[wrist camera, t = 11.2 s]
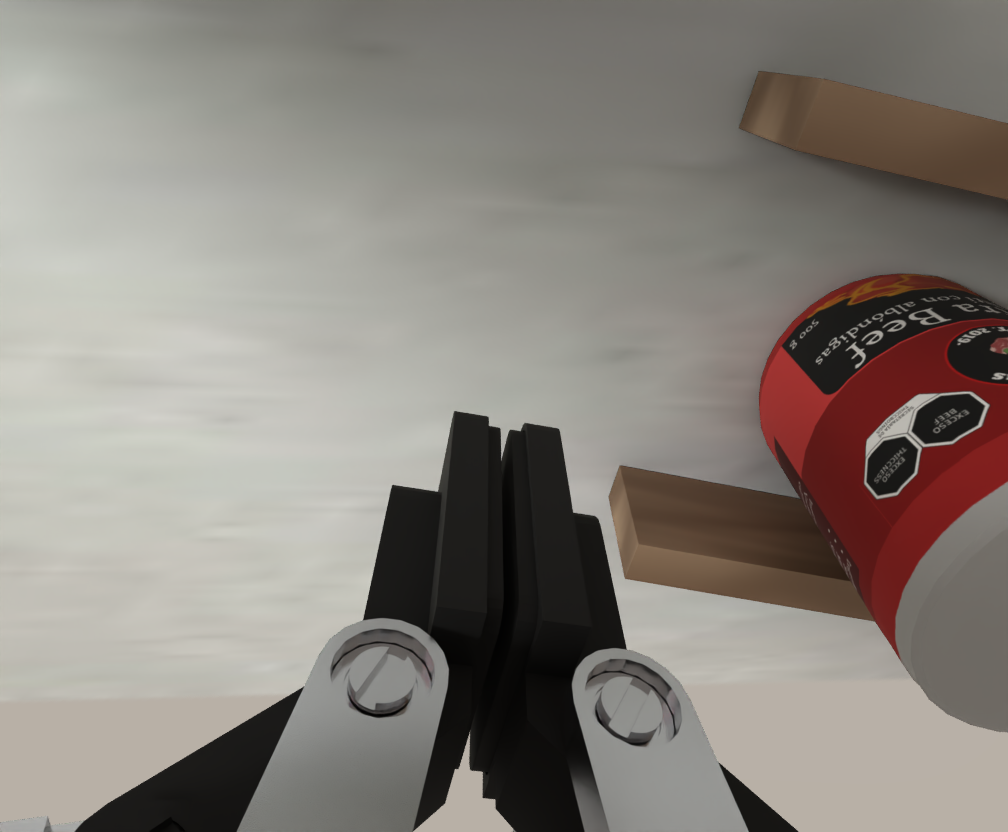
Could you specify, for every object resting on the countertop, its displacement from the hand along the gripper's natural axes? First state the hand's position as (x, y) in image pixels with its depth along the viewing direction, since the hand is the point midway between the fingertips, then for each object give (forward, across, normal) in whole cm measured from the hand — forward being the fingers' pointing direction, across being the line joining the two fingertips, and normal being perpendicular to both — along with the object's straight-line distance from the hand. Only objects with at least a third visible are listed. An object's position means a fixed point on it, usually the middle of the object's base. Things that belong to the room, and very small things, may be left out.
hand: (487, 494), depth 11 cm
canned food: (+12, -14, +1) cm, 18 cm away
